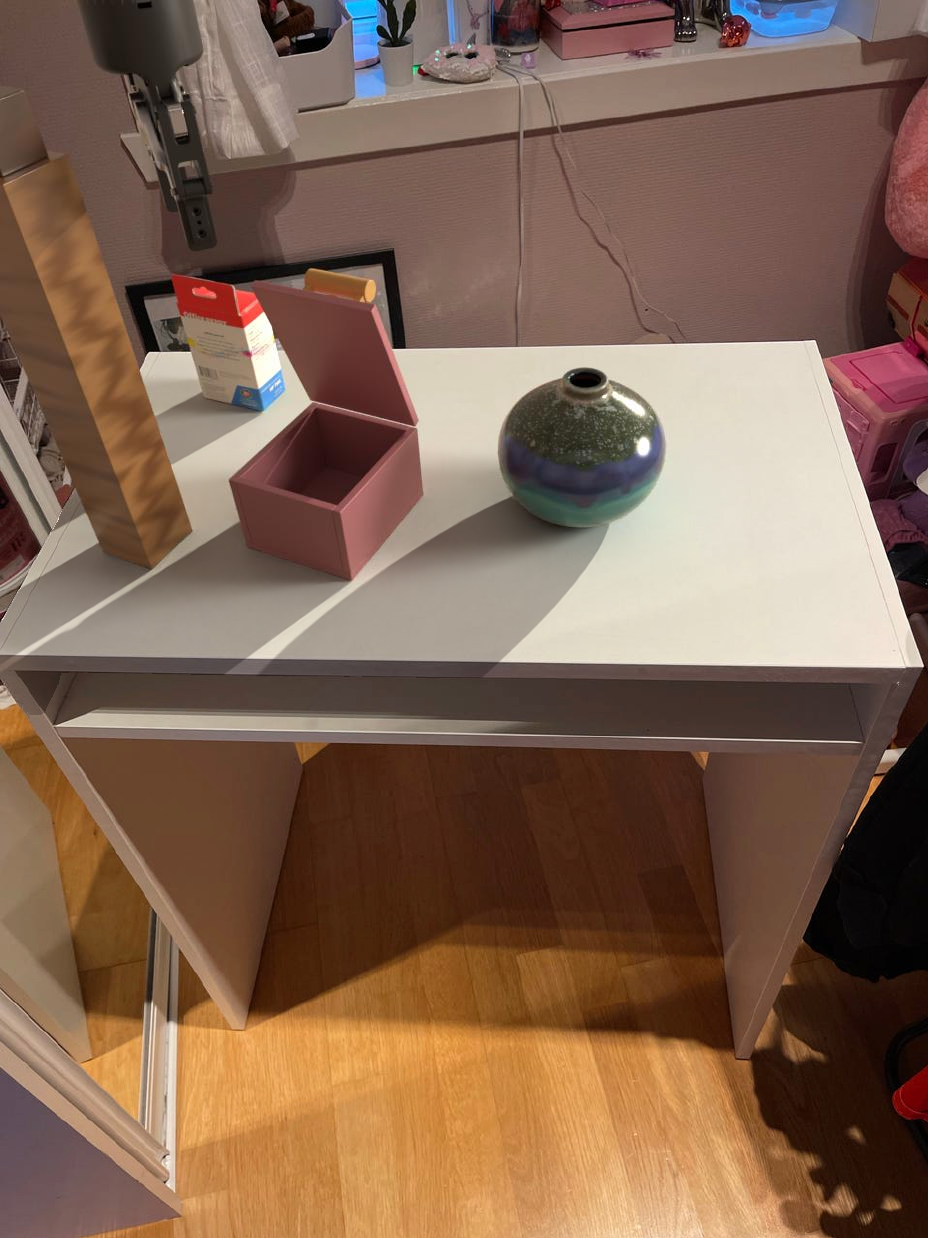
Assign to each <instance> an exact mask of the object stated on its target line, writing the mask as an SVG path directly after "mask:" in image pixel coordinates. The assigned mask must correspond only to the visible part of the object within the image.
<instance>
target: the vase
mask: <svg viewBox="0 0 928 1238" xmlns="http://www.w3.org/2000/svg"><path fill="white" fill-rule="evenodd" d="M666 453H667V441H666V433H665V429H664V427H663V423H662V421H661V419H660V417H659V415H658V413H657V412H656V410H655V408H654V407H653V406H652V405H651V403H649V401H648V400H646V398H645V397H643V396H642V395H641V394H639V392H636V391H635V390H634V389H633V388H630V387H628V386H626V385H624V384H622V383H621V382H617V381H615V380H612V379H610V378H609V377H608V375H607V374H606V373H605V372H603V371H602V370H601V369H597V368H594V367H586V366H585V367H584V366H582V367H575V368H573V369H570V370H568V371H567V372H565V373H564V374H563V376H562V377H560V378H556V379H552V380H550V381H548V382H545V383H542V384H540V385H538V386H535V388H533V389H531V390H530V391H528V392H527V393H525V394H524V395H523V396H521V397H520V398H519V399H518V401H516V403H514V405H513V406H512V407H510V410H509V411H508V413H507V414H506V415H505V417H504V419H503V421H502V424H501V427H500V430H499V434H498V440H497V459H498V464H499V470H500V472H501V476H502V479H503V481H504V483H505V485H506V487H507V488H508V490H509V492H510V493H511V495H512V496H513V497H514V498H515V499H516V501H517V502H518V503H519V504H520V505H521V506H522V507H523V508H524V509H525V510H526V511H528V512H529V513H531V514H532V515H533V516H535V517H537V518H538V519H541V520H543V521H546V522H547V523H551V524H554V525H557V526H562V527H568V528H595V527H599V526H604V525H607V524H611V523H614V522H616V521H618V520H620V519H623V518H624V517H626V516H628V515H629V514H631V513H632V512H634V511H635V510H636V509H638V508H639V507H640V506H641V505H642V504H643V503H644V502H645V501H646V499H647V498H648V497H649V496H650V494H651V493H652V492H653V491H654V489H655V488H656V486H657V484H658V481H659V479H660V477H661V476H662V475H661V474H662V472H663V469H664V466H665V462H666Z"/></svg>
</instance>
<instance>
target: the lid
mask: <svg viewBox="0 0 928 1238" xmlns="http://www.w3.org/2000/svg"><path fill="white" fill-rule="evenodd" d="M303 282H304V286H303V288H302V289H300V288H296V287H291V286H285V285H281V284H276V283H271V282H266V281H261V280H256V279H255V280H253V283H252V284H251V286H250V288H251V290H252V293H254V294H255V296H256V298H257V300H258V302H259V304H260V305H261V307H262V309H263V311H264V313H265V315H266V317H267V319H268V321H269V323H270V324H271V326H272V331H273V333H274V334H275V336H276V338H277V340H278V342H279V343H280V345H281V348H282V349H283V351H284V353H285V355H286V357H287V359H288V360H289V362H290V365H291V366H292V368H293V370H294V372H295V374H296V376H297V378H298V381H299V382H300V383H301V385H302V387H303V389H304V391H305V392H306V395H307V397H308V399H309V400H310V401H311V402H315V403H319V404H323V405H327V406H331V407H335V408H339V409H343V410H347V411H351V412H355V413H359V414H363V415H367V416H371V417H375V418H379V419H383V420H387V421H391V422H395V423H399V424H403V425H407V426H410V427H414V428H416V427H417V425H418V423H419V417H418V414H417V412H416V408H415V407H414V404H413V401H412V398H411V395H410V393H409V391H408V387H407V385H406V382H405V380H404V376H403V374H402V372H401V369H400V367H399V364H398V361H397V358H396V356H395V353H394V350H393V348H392V345H391V342H390V339H389V336H388V334H387V332H386V329H385V327H384V324H383V320H382V319H381V315H380V313H379V310H378V307H377V305H376V304H375V303H371V302H373V301H374V299H375V297H376V293H377V286H376V283H375V281H374V280H373V279H369V278H363V277H358V276H354V275H348V274H343V273H338V272H332V271H328V270H323V269H318V268H309V269H307V271H306V272H305V274H304V281H303Z"/></svg>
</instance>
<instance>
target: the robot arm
mask: <svg viewBox="0 0 928 1238" xmlns="http://www.w3.org/2000/svg"><path fill="white" fill-rule="evenodd" d="M76 3H77V7H78V10H79V14H80V17H81V21H82V24H83V28H84V31H85V35H86V39H87V42H88V46H89V49H90V53H91V56H92V60H93V62H94V64H95V65H96V66H97V68H98V69H100V70H101V71H104V72H105V73H108V74H113V75H119V76H126V78H127V82H128V85H129V90H130V91H129V92H127V97H128V103H129V106H130V108H131V111H132V113H133V116H134V118H135V122H136V126H137V127H136V128H137V130H138V133H139V136H140V140H141V142H142V144H143V145H144V146H145V147H147V149H146V152H147V156H148V158H150V161H151V162H153V165H154V169H155V173H156V176H157V180H158V184H159V188H160V192H161V195H162V200H163V204H164V206H165V209H167V211H168V212H169V213H178V215H179V219H180V223H181V227H182V232H183V234H184V239H185V243H186V245H187V247H188V249H189V250H190V251H192V252H200V251H204V250H209V249H214V248H215V247H217V245H218V237H217V233H216V228H215V225H214V220H213V215H212V211H211V207H210V202H209V198H208V196H213V194H214V190H213V189H214V184H213V181H212V180H211V178H210V177H211V176H210V173H209V168H208V164H207V160H206V155H205V149H204V146H203V142H202V138H201V133H200V129H199V125H198V120H197V109H196V107H195V105H194V101H193V99H192V96H191V93H190V92H185V88H184V85H183V84H182V83H179V81H178V78H177V72H178V71H179V70H180V69H181V68H182V67H189V66H192V65H194V64H195V63H197V62H199V60H201V58H202V56H203V54H204V44H203V39H202V35H201V30H200V26H199V20H198V15H197V11H196V5H195V1H194V0H76ZM186 167H191V168H192V169H193V172H194V175H195V177H194V178H193V177H192V178H188V175H187V170H186Z"/></svg>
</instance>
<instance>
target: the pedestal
mask: <svg viewBox="0 0 928 1238" xmlns="http://www.w3.org/2000/svg"><path fill="white" fill-rule="evenodd" d="M47 153H48V157H46V158H44V159H41V160H39V161H37V162H35V163H33V164H31V165H28V166H26V167H24V168H22V169H20V170H18V171H16V172H13V173H11V174H9V175H7V176H5V177H0V318H1V320H2V322H3V324H4V327H5V330H6V331H7V334H8V336H9V338H10V340H11V344H12V345H13V348H14V350H15V352H16V354H17V356H18V359H19V362H20V364H21V366H22V368H23V371H24V373H25V375H26V377H27V380H28V382H29V385H30V387H31V389H32V391H33V394H34V396H35V398H36V401H37V403H38V406H39V408H40V410H41V412H42V414H43V416H44V417H43V418H44V420H45V421H46V425H47V426H48V428H49V430H50V433H51V435H52V438H53V440H54V442H55V444H56V447H57V449H58V452H59V454H60V456H61V458H62V461H63V463H64V465H65V468H66V470H67V472H68V475H69V477H70V479H71V482H72V484H73V486H74V489H75V490H76V493H77V495H78V497H79V500H80V503H81V504H82V508H83V509H84V511H85V514H86V516H87V518H88V521H89V523H90V526H91V528H92V530H93V533H94V534H95V537H96V539H97V542H98V544H99V546H100V548H101V550H102V551H101V552H103V553H105V554H108V555H110V556H114V557H116V558H119V559H122V560H125V561H128V562H131V563H133V564H136V565H139V566H141V567H145V568H148V569H150V570H153V569H154V568H156V566H158V564H160V562H162V561H163V560H164V559H165V558H166V557H167V556H168V555H169V554H170V553H171V552H173V550H174V549H175V548H176V547H178V546H179V545H180V544H181V543H182V542H183V541H185V539H186V538H188V536H189V535H190V534H191V533H193V531H194V529H193V527H192V524H191V521H190V518H189V515H188V511H187V508H186V506H185V502H184V500H183V497H182V494H181V491H180V488H179V484H178V481H177V479H176V475H175V473H174V470H173V465H172V463H171V462H170V461H171V460H170V458H169V455H168V452H167V449H166V446H165V442H164V439H163V436H162V434H161V430H160V428H159V424H158V421H157V419H156V415H155V412H154V410H153V407H152V403H151V399H150V397H149V393H148V390H147V388H146V386H145V383H144V379H143V376H142V373H141V370H140V368H139V363H138V361H137V358H136V355H135V352H134V349H133V346H132V343H131V340H130V337H129V334H128V331H127V328H126V324H125V322H124V318H123V316H122V313H121V309H120V307H119V304H118V301H117V298H116V295H115V291H114V289H113V286H112V281H111V280H110V276H109V273H108V270H107V267H106V264H105V262H104V258H103V256H102V253H101V252H102V251H101V249H100V247H99V243H98V241H97V237H96V234H95V231H94V228H93V226H92V222H91V220H90V216H89V213H88V210H87V207H86V204H85V201H84V198H83V195H82V192H81V189H80V185H79V183H78V180H77V177H76V174H75V170H74V168H73V164H72V162H71V159H70V156H69V154H68V153H66V152H65V153H64V152H59V151H51V150H47Z"/></svg>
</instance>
